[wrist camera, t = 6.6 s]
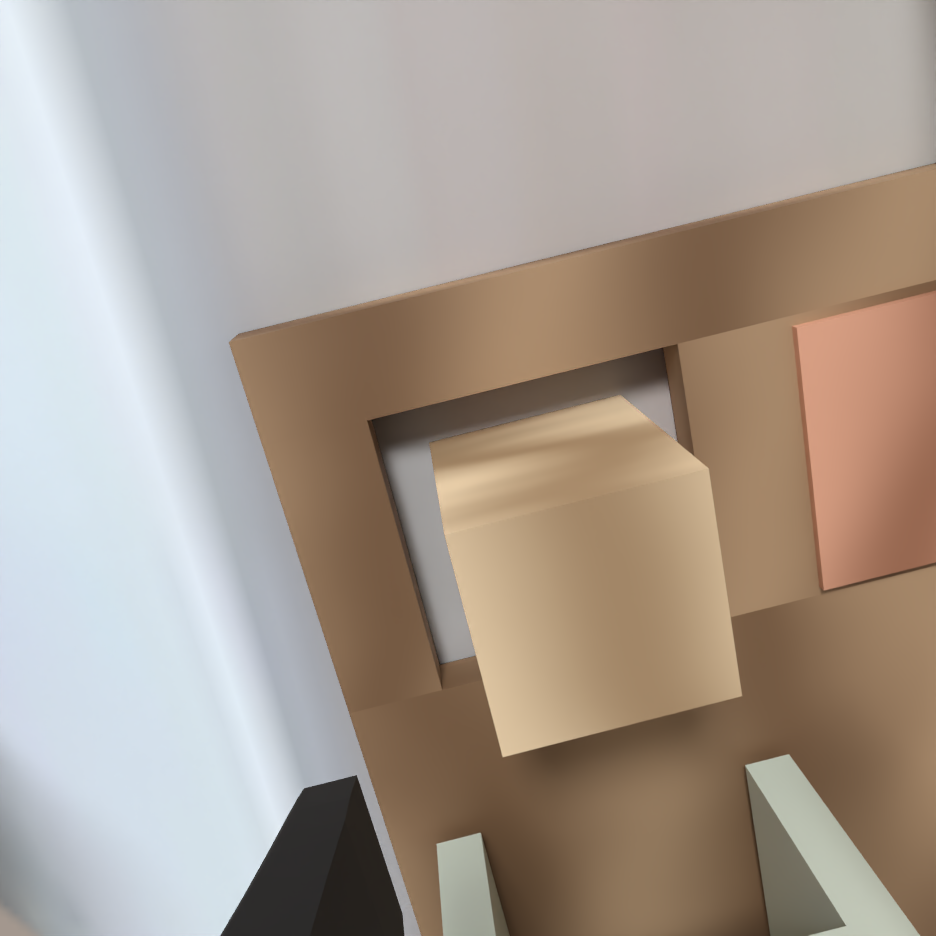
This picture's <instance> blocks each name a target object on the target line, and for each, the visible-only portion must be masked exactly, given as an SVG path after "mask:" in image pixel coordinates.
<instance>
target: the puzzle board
mask: <svg viewBox="0 0 936 936" xmlns="http://www.w3.org/2000/svg"><path fill="white" fill-rule="evenodd" d="M229 344H230V347H231V350H232V353H233V356H234V360H235V363H236V366H237V369H238V372H239V375H240V378H241V381H242V384H243V387H244V390H245V393H246V397H247V400H248V403H249V406H250V409H251V412H252V415H253V418H254V421H255V424H256V427H257V430H258V433H259V437H260V440H261V443H262V446H263V449H264V452H265V455H266V458H267V461H268V464H269V467H270V470H271V474H272V477H273V480H274V483H275V486H276V489H277V492H278V495H279V498H280V501H281V504H282V507H283V510H284V514H285V517H286V520H287V523H288V526H289V529H290V532H291V535H292V538H293V541H294V544H295V547H296V551H297V554H298V557H299V560H300V563H301V566H302V569H303V572H304V575H305V578H306V581H307V584H308V587H309V591H310V594H311V597H312V600H313V603H314V606H315V609H316V612H317V615H318V618H319V621H320V624H321V628H322V631H323V634H324V637H325V640H326V643H327V646H328V649H329V652H330V655H331V658H332V661H333V664H334V668H335V671H336V674H337V677H338V680H339V683H340V686H341V689H342V692H343V695H344V698H345V701H346V705H347V708H348V711H349V714H350V717H351V720H352V723H353V726H354V729H355V732H356V735H357V738H358V741H359V745H360V748H361V751H362V754H363V757H364V760H365V763H366V766H367V769H368V772H369V775H370V778H371V782H372V785H373V788H374V791H375V794H376V797H377V800H378V803H379V806H380V809H381V812H382V815H383V818H384V822H385V825H386V828H387V831H388V834H389V837H390V840H391V843H392V846H393V849H394V852H395V855H396V859H397V862H398V865H399V868H400V871H401V874H402V877H403V880H404V883H405V886H406V889H407V892H408V895H409V899H410V902H411V905H412V908H413V911H414V914H415V917H416V920H417V923H418V926H419V929H420V932H421V936H443V926H442V912H441V898H440V884H439V871H438V857H437V844H438V843H442V842H446V841H450V840H454V839H458V838H462V837H465V836H469V835H473V834H477V833H481V835H482V839H483V842H484V846H485V849H486V853H487V856H488V860H489V864H490V867H491V871H492V874H493V878H494V881H495V885H496V889H497V892H498V896H499V899H500V903H501V906H502V910H503V914H504V917H505V921H506V924H507V928H508V931H509V935H510V936H770V930H769V923H768V916H767V910H766V903H765V896H764V889H763V883H762V876H761V869H760V862H759V856H758V849H757V842H756V835H755V829H754V822H753V815H752V808H751V802H750V795H749V788H748V781H747V775H746V768H745V765H748V764H752V763H756V762H760V761H764V760H768V759H772V758H775V757H779V756H783V755H787V754H789V755H790V756H791V758H792V759H793V760H794V762H795V763H796V765H797V766H798V767H799V769H800V770H801V772H802V773H803V774H804V776H805V777H806V778H807V780H808V781H809V783H810V784H811V785H812V787H813V788H814V790H815V791H816V792H817V794H818V795H819V796H820V798H821V799H822V801H823V802H824V803H825V805H826V806H827V808H828V809H829V810H830V812H831V813H832V814H833V816H834V817H835V819H836V820H837V821H838V823H839V824H840V825H841V827H842V828H843V830H844V831H845V832H846V834H847V835H848V837H849V838H850V839H851V841H852V842H853V843H854V845H855V846H856V848H857V849H858V850H859V852H860V853H861V855H862V856H863V857H864V859H865V860H866V861H867V863H868V864H869V866H870V867H871V868H872V870H873V871H874V873H875V874H876V875H877V877H878V878H879V879H880V881H881V882H882V884H883V885H884V886H885V888H886V889H887V891H888V892H889V893H890V895H891V896H892V897H893V899H894V900H895V902H896V903H897V904H898V906H899V907H900V909H901V910H902V911H903V913H904V914H905V915H906V917H907V918H908V920H909V921H910V922H911V924H912V925H913V927H914V928H915V929H916V931H917V932H918V933H919V935H920V936H936V163H934V164H930V165H926V166H921V167H917V168H913V169H909V170H905V171H901V172H897V173H893V174H889V175H885V176H881V177H877V178H873V179H868V180H864V181H860V182H856V183H852V184H848V185H844V186H840V187H836V188H832V189H828V190H824V191H819V192H815V193H811V194H807V195H803V196H799V197H795V198H791V199H787V200H783V201H779V202H775V203H771V204H766V205H762V206H758V207H754V208H750V209H746V210H742V211H738V212H734V213H730V214H726V215H722V216H718V217H713V218H709V219H705V220H701V221H697V222H693V223H689V224H685V225H681V226H677V227H673V228H669V229H665V230H660V231H656V232H652V233H648V234H644V235H640V236H636V237H632V238H628V239H624V240H620V241H616V242H612V243H607V244H603V245H599V246H595V247H591V248H587V249H583V250H579V251H575V252H571V253H567V254H563V255H558V256H554V257H550V258H546V259H542V260H538V261H534V262H530V263H526V264H522V265H518V266H514V267H510V268H505V269H501V270H497V271H493V272H489V273H485V274H481V275H477V276H473V277H469V278H465V279H461V280H457V281H452V282H448V283H444V284H440V285H436V286H432V287H428V288H424V289H420V290H416V291H412V292H408V293H404V294H399V295H395V296H391V297H387V298H383V299H379V300H375V301H371V302H367V303H363V304H359V305H355V306H351V307H346V308H342V309H338V310H334V311H330V312H326V313H322V314H318V315H314V316H310V317H306V318H302V319H298V320H293V321H289V322H285V323H281V324H277V325H273V326H269V327H265V328H261V329H257V330H253V331H249V332H244V333H240V334H238V335H237V336H236V337H234V338H233V339H232V340H231V341H230V342H229ZM659 348H663V350H664V356H665V363H666V369H667V376H668V382H669V388H670V395H671V401H672V408H673V414H674V421H675V427H676V433H677V440H678V443H679V444H680V445H681V446H682V447H684V448H685V449H686V450H687V451H688V452H690V453H691V454H692V455H693V456H694V457H696V458H697V459H698V460H699V461H700V462H702V463H703V464H704V465H705V466H706V467H708V468H709V474H710V481H711V488H712V495H713V501H714V508H715V515H716V522H717V529H718V535H719V542H720V549H721V556H722V563H723V569H724V576H725V583H726V590H727V596H728V603H729V610H730V617H731V624H732V630H733V637H734V644H735V651H736V658H737V664H738V671H739V678H740V685H741V692H742V696H741V697H737V698H733V699H729V700H725V701H721V702H717V703H713V704H709V705H705V706H701V707H697V708H694V709H690V710H686V711H682V712H678V713H674V714H670V715H666V716H662V717H658V718H654V719H651V720H647V721H643V722H639V723H635V724H631V725H627V726H623V727H619V728H615V729H611V730H607V731H604V732H600V733H596V734H592V735H588V736H584V737H580V738H576V739H572V740H568V741H564V742H560V743H557V744H553V745H549V746H545V747H541V748H537V749H533V750H529V751H525V752H521V753H517V754H513V755H510V756H506V757H503V756H502V752H501V749H500V745H499V741H498V737H497V733H496V730H495V726H494V722H493V718H492V714H491V710H490V707H489V703H488V699H487V695H486V691H485V688H484V684H483V680H482V676H481V672H480V668H479V665H478V661H477V657H476V656H473V657H469V658H465V659H461V660H457V661H453V662H449V663H445V664H441V665H439V661H438V657H437V654H436V650H435V647H434V643H433V639H432V636H431V632H430V629H429V625H428V621H427V618H426V614H425V611H424V607H423V603H422V600H421V596H420V593H419V589H418V585H417V582H416V578H415V574H414V571H413V567H412V564H411V560H410V556H409V553H408V549H407V546H406V542H405V538H404V535H403V531H402V528H401V524H400V520H399V517H398V513H397V510H396V506H395V502H394V499H393V495H392V492H391V488H390V484H389V481H388V477H387V474H386V470H385V466H384V463H383V459H382V456H381V452H380V448H379V445H378V441H377V438H376V434H375V430H374V427H373V423H372V420H371V419H376V418H380V417H384V416H388V415H392V414H396V413H400V412H404V411H408V410H412V409H416V408H420V407H424V406H428V405H432V404H436V403H440V402H444V401H448V400H452V399H456V398H460V397H465V396H469V395H473V394H477V393H481V392H485V391H489V390H493V389H497V388H501V387H505V386H509V385H513V384H517V383H521V382H525V381H529V380H533V379H537V378H541V377H545V376H549V375H553V374H558V373H562V372H566V371H570V370H574V369H578V368H582V367H586V366H590V365H594V364H598V363H602V362H606V361H610V360H614V359H618V358H622V357H626V356H630V355H634V354H638V353H642V352H647V351H651V350H655V349H659Z"/></svg>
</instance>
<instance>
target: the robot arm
mask: <svg viewBox="0 0 936 936" xmlns="http://www.w3.org/2000/svg"><path fill="white" fill-rule="evenodd" d="M221 936H404V927H403V915H402V911H401V908H400V905H399V902H398V899H397V896H396V893H395V890H394V887H393V884H392V881H391V878H390V875H389V872H388V869H387V866H386V863H385V860H384V857H383V854H382V851H381V848H380V845H379V842H378V839H377V836H376V833H375V830H374V826H373V823H372V820H371V817H370V814H369V811H368V808H367V805H366V802H365V799H364V796H363V793H362V790H361V787H360V784H359V781H358V778H357V775H356V776H352V777H348V778H344V779H340V780H336V781H332V782H328V783H324V784H320V785H316V786H312V787H308V788H304V789H303V791H302V793H301V794H300V796H299V797H298V799H297V800H296V802H295V804H294V806H293V808H292V809H291V811H290V813H289V815H288V817H287V818H286V820H285V822H284V824H283V826H282V828H281V829H280V831H279V833H278V835H277V837H276V839H275V841H274V842H273V844H272V846H271V848H270V850H269V852H268V853H267V855H266V857H265V859H264V861H263V862H262V864H261V866H260V868H259V870H258V871H257V873H256V875H255V877H254V879H253V880H252V882H251V884H250V886H249V888H248V889H247V891H246V893H245V895H244V896H243V898H242V900H241V902H240V903H239V905H238V907H237V908H236V910H235V912H234V914H233V915H232V917H231V919H230V920H229V922H228V924H227V925H226V927H225V929H224V931H223V932H222V934H221Z"/></svg>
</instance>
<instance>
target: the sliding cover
mask: <svg viewBox="0 0 936 936" xmlns="http://www.w3.org/2000/svg"><path fill="white" fill-rule="evenodd" d="M745 768H746V775H747V781H748V788H749V795H750V802H751V808H752V815H753V822H754V829H755V835H756V842H757V849H758V856H759V862H760V869H761V876H762V883H763V889H764V896H765V903H766V910H767V916H768V923H769V930H770V936H920V935H919V933H918V932H917V931H916V929H915V928H914V927H913V925H912V924H911V922H910V921H909V920H908V918H907V917H906V915H905V914H904V913H903V911H902V910H901V909H900V907H899V906H898V904H897V903H896V902H895V900H894V899H893V897H892V896H891V895H890V893H889V892H888V891H887V889H886V888H885V886H884V885H883V884H882V882H881V881H880V879H879V878H878V877H877V875H876V874H875V873H874V871H873V870H872V868H871V867H870V866H869V864H868V863H867V861H866V860H865V859H864V857H863V856H862V855H861V853H860V852H859V850H858V849H857V848H856V846H855V845H854V843H853V842H852V841H851V839H850V838H849V837H848V835H847V834H846V832H845V831H844V830H843V828H842V827H841V825H840V824H839V823H838V821H837V820H836V819H835V817H834V816H833V814H832V813H831V812H830V810H829V809H828V808H827V806H826V805H825V803H824V802H823V801H822V799H821V798H820V796H819V795H818V794H817V792H816V791H815V790H814V788H813V787H812V785H811V784H810V783H809V781H808V780H807V778H806V777H805V776H804V774H803V773H802V772H801V770H800V769H799V767H798V766H797V765H796V763H795V762H794V760H793V759H792V758H791V756H790V755H789V754H787V755H783V756H779V757H775V758H772V759H768V760H764V761H760V762H756V763H752V764H748V765H745ZM437 857H438V871H439V884H440V898H441V912H442V926H443V936H510V935H509V931H508V928H507V924H506V921H505V917H504V914H503V910H502V906H501V903H500V899H499V896H498V892H497V889H496V885H495V881H494V878H493V874H492V871H491V867H490V864H489V860H488V856H487V853H486V849H485V846H484V842H483V839H482V835H481V833H477V834H473V835H469V836H465V837H462V838H458V839H454V840H450V841H446V842H442V843H438V844H437Z"/></svg>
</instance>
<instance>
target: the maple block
mask: <svg viewBox="0 0 936 936" xmlns="http://www.w3.org/2000/svg"><path fill="white" fill-rule="evenodd" d="M429 444H430V450H431V456H432V462H433V469H434V475H435V481H436V487H437V493H438V499H439V505H440V511H441V517H442V523H443V529H444V535H445V539H446V543H447V546H448V550H449V554H450V558H451V562H452V565H453V569H454V573H455V577H456V581H457V585H458V588H459V592H460V596H461V600H462V604H463V607H464V611H465V615H466V619H467V623H468V627H469V630H470V634H471V638H472V642H473V646H474V649H475V653H476V657H477V661H478V665H479V668H480V672H481V676H482V680H483V684H484V688H485V691H486V695H487V699H488V703H489V707H490V710H491V714H492V718H493V722H494V726H495V730H496V733H497V737H498V741H499V745H500V749H501V752H502V756H503V757H506V756H510V755H513V754H517V753H521V752H525V751H529V750H533V749H537V748H541V747H545V746H549V745H553V744H557V743H560V742H564V741H568V740H572V739H576V738H580V737H584V736H588V735H592V734H596V733H600V732H604V731H607V730H611V729H615V728H619V727H623V726H627V725H631V724H635V723H639V722H643V721H647V720H651V719H654V718H658V717H662V716H666V715H670V714H674V713H678V712H682V711H686V710H690V709H694V708H697V707H701V706H705V705H709V704H713V703H717V702H721V701H725V700H729V699H733V698H737V697H741V696H742V692H741V685H740V678H739V671H738V664H737V658H736V651H735V644H734V637H733V630H732V624H731V617H730V610H729V603H728V596H727V590H726V583H725V576H724V569H723V563H722V556H721V549H720V542H719V535H718V529H717V522H716V515H715V508H714V501H713V495H712V488H711V481H710V474H709V468H708V467H706V466H705V465H704V464H703V463H702V462H700V461H699V460H698V459H697V458H696V457H694V456H693V455H692V454H691V453H690V452H688V451H687V450H686V449H685V448H684V447H682V446H681V445H680V444H679V443H678V442H676V441H675V440H674V439H673V438H672V437H670V436H669V435H668V434H667V433H666V432H664V431H663V430H662V429H661V428H660V427H658V426H657V425H656V424H655V423H654V422H652V421H651V420H650V419H649V418H648V417H646V416H645V415H644V414H643V413H641V412H640V411H639V410H638V409H637V408H635V407H634V406H633V405H632V404H631V403H629V402H628V401H627V400H626V399H625V398H623V397H622V396H621V395H617V396H613V397H609V398H605V399H601V400H597V401H593V402H589V403H585V404H581V405H577V406H573V407H569V408H565V409H561V410H557V411H553V412H549V413H545V414H541V415H537V416H533V417H529V418H525V419H521V420H517V421H513V422H509V423H505V424H501V425H497V426H493V427H489V428H485V429H481V430H477V431H473V432H469V433H465V434H461V435H457V436H453V437H449V438H445V439H441V440H437V441H433V442H429Z"/></svg>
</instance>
